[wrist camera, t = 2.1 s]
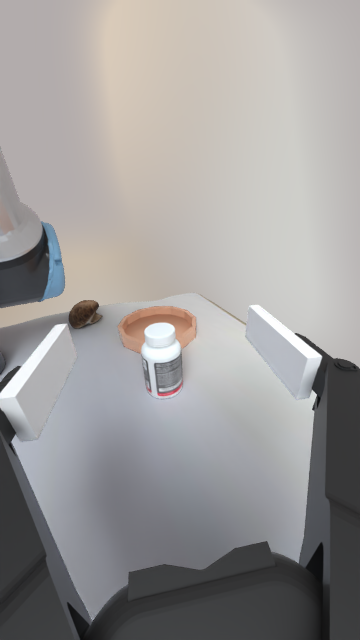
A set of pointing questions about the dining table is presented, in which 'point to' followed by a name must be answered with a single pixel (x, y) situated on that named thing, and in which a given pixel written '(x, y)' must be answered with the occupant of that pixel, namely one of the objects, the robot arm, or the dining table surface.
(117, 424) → the dining table surface
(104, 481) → the dining table surface
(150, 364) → the pill bottle
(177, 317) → the bowl
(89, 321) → the mushroom
